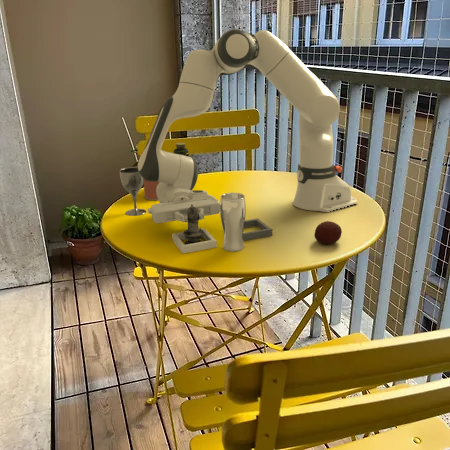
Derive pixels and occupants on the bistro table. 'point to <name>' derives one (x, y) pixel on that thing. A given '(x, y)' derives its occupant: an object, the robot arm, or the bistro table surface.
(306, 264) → the bistro table surface
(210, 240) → the pale socket
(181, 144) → the potion bottle
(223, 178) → the bistro table surface
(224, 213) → the beer glass
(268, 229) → the dark socket
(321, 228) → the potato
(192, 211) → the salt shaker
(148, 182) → the canned food
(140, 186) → the wine glass
